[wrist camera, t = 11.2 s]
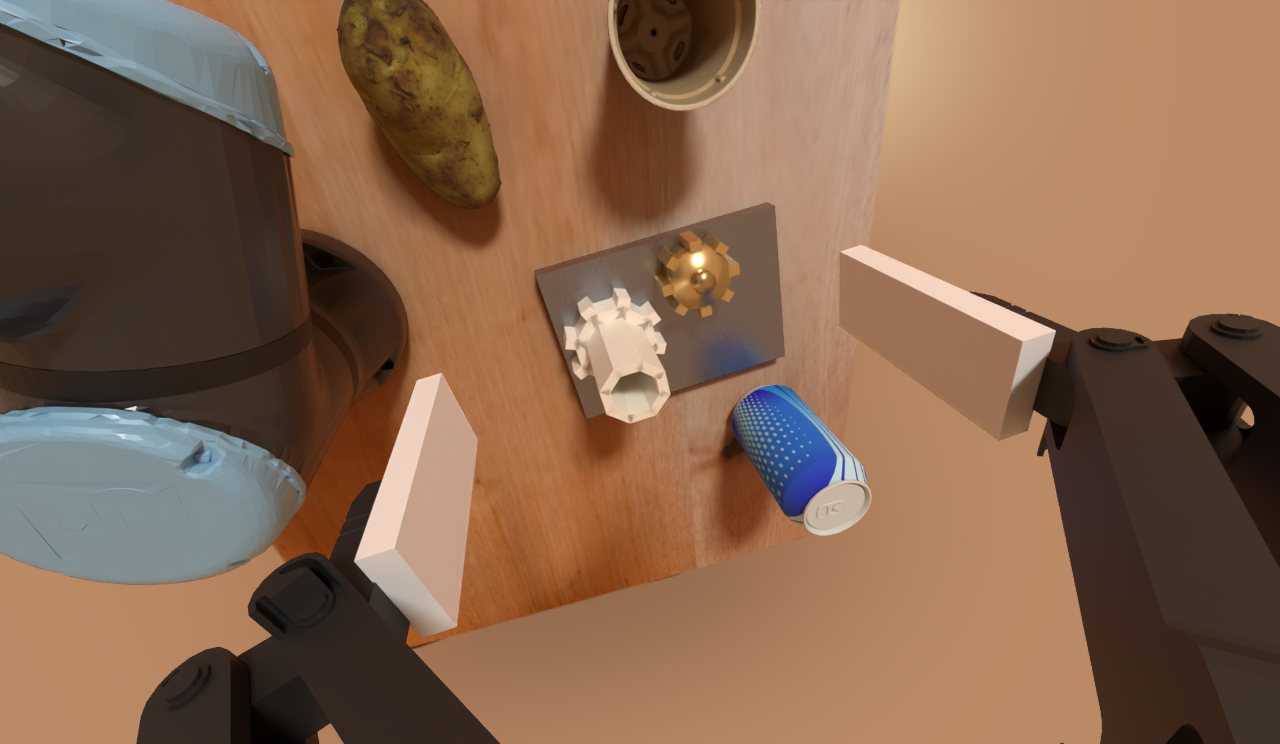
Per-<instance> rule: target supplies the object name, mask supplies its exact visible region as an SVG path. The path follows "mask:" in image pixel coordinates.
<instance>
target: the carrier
mask: <svg viewBox="0 0 1280 744" xmlns="http://www.w3.org/2000/svg"><path fill="white" fill-rule="evenodd" d="M535 276H536V279H537V282H538V285H539V287H540V290H541V293H542V296H543V298H544V301H545V304H546V307H547V309H548V312H549V315H550V318H551V321H552V323H553V326H554V329H555V332H556V334H557V337H558V340H559V343H560V345H561V348H562V351H563V354H564V357H565V359H566V362H567V365H568V368H569V370H570V373H571V376H572V379H573V381H574V384H575V387H576V390H577V393H578V395H579V398H580V401H581V404H582V406H583V409H584V412H585V415H586V417H587V419H589V418H592V417H595V416H598V415H601V414H605V413H606V411H605V408H604V405H603V402H602V399H601V396H600V393H599V390H598V386H597V383H596V379H595V376H592V375H590V374H589V375H587V376H586V377H585V378H583V379H582V380H581V379H580V378H579V377H578V376H577V375H576V374H575V373H574V372H573V367H572V362H571V359H572V358H574V357H575V356H576V355H578V354H577V351H576V350H569V349H565V344H564V339H563V333H564V326H568V327H575V325H576V323H577V321H578V320H579V318H580V316H581V314H580V311H579V308H578V304H577V303H578V302H580V301H581V300H582V299H583V298H585V297H586V296H587V297H588V298H589V299H590V300H591V301H592V303H596V302H599V301H603V300H606V299H609V298H612V295H613V288H621V289H626V291H627V293H628V295H629V296H630V298H631V301H630V302H631V303H633V304H635V305H637V306H639V307H641V306H642V305H643V304H645V303H646V302H647V301H649V303H650V304H651V305H652V307H653V308H654V309H655V311H656V312H657V314H658V315H659V317H660V319H661V321H659V322H658V323H657V324H655V325H654V326H653V328H654V332H660V333H661V335H662V337H663V338H664V340H665V342H666V349H665V353H664V354H656V355H657V357H658V359H659V361H660V362H661V364H662V366H663V368H664V370H665V373H666V377H667V381H668V386H669V390H670V392H674V391H677V390H680V389H683V388H686V387H689V386H692V385H696V384H699V383H702V382H705V381H708V380H711V379H714V378H718V377H721V376H724V375H727V374H730V373H733V372H736V371H740V370H743V369H746V368H749V367H752V366H755V365H758V364H762V363H765V362H768V361H771V360H774V359H777V358H780V357H784V356H785V351H784V336H783V321H782V306H781V291H780V276H779V261H778V246H777V231H776V216H775V206H774V205H772V204H770V203H764V204H760V205H757V206H754V207H750V208H747V209H743V210H740V211H737V212H733V213H730V214H726V215H723V216H719V217H716V218H713V219H709V220H706V221H702V222H699V223H696V224H692V225H689V226H685V227H682V228H679V229H675V230H672V231H668V232H665V233H662V234H658V235H655V236H651V237H648V238H644V239H641V240H638V241H634V242H631V243H627V244H624V245H621V246H617V247H614V248H610V249H607V250H604V251H600V252H597V253H593V254H590V255H587V256H583V257H580V258H576V259H573V260H569V261H566V262H563V263H559V264H556V265H552V266H549V267H546V268H542V269H539V270H535Z"/></svg>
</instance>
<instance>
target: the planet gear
mask: <svg viewBox="0 0 1280 744" xmlns="http://www.w3.org/2000/svg"><path fill="white" fill-rule="evenodd" d="M630 301H631V298H630V296H629V295H628V293H627V291H626V289H621V288H613V295H612V298H609V299H606V300H603V301H599V302H596V303H592V301H591V300H590V299H589V298H588V297H587V296H586V297H585V298H583V299H582V300H581V301H580V302H578V303H577V304H578V308H579V311H580V314H581V316H580V318H579V320H578V321H577V323H576V325H575V327H568V326H564V333H563V339H564V344H565V349H569V350H576V351H577V354H578V355H576V356H575V357H574V358H572V359H571V362H572V367H573V372H574V373H575V374H576V375H577V376H578V377H579V378H580V379H581V380H582V379H583V378H585V377H586V376H587V375H589V374H590V375H592V376H595V379H596V383H597V386H598V390H599V393H600V396H601V399H602V402H603V405H604V408H605V411H606V415H609V416H611V417H614V418H617V419H619V420H622V421H624V422H627V423H633V422H636V421H639V420H642V419H646V418H649V417H652V416H655V415H656V414H657V413H658V411H659V410H660V409H661V407H662V406H663V404H664V403H665V401H666V400H667V399H668V397H669V396H670V390H669V386H668V381H667V377H666V373H665V370H664V368H663V366H662V364H661V362H660V361H659V359H658V357H657V355H656V354H664V353H665V349H666V342H665V340H664V338H663V337H662V335H661V333H660V332H654V328H653V326H654V325H655V324H657V323H658V322H659V321H661V319H660V317H659V315H658V314H657V312H656V311H655V309H654V308H653V307H652V305H651V304H650V303H649V301H647V302H646V303H645V304H643V305H642V306H641V307H639V306H637V305H635V304H633V303H631V302H630Z"/></svg>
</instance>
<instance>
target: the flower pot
mask: <svg viewBox="0 0 1280 744" xmlns="http://www.w3.org/2000/svg"><path fill="white" fill-rule="evenodd" d="M624 5H627V6H628V9H627V12H626V14H625V17H624V20H623V23H622V25H619V24H618V15H619V13H620V10H621V8H622V7H623V6H624ZM760 13H761V0H675V4H672V5H671V4H670V3H669V2H668V1H667V0H608V11H607V23H608V35H609V40H610V45H611V49H612V52H613V55H614V58H615V60H616V63H617V65H618V67H619V69H620V71H621V73H622V74H623V76H624V77H625V79H626V80H627V82H628V83H629V84H630V85H631V87H632V88H633V89H634V90H635V91H636V92H637V93H638V94H639V95H641V96H642V97H643V98H644V99H646V100H647V101H649V102H650V103H652V104H654V105H656V106H659V107H662V108H664V109H668V110H673V111H689V110H695V109H698V108H702V107H705V106H707V105H709V104H711V103H713V102H714V101H716V100H718V99H719V98H721V97H722V96H723V95H724V94H726V93H727V92H728V91H729V90H730V89H731V88H732V87H733V86H734V85H735V83H736V82H737V81H738V80H739V78H740V77H741V76H742V74H743V72H744V71H745V69H746V67H747V65H748V63H749V61H750V59H751V56H752V54H753V51H754V48H755V45H756V41H757V37H758V33H759V24H760V16H761V15H760ZM651 30H656V33H657V34H656V36H652V35H651ZM679 42H683V43H684V50H683V52H682V53H681V55H680V57H679V58H678V59H677V60H676V59H675V58H674V54H675V52H676V50H677V48H678V45H679ZM632 62H635V63H637V64H639V63H640V65H641V67H643V68H645V71H644V72H642V71H640V70H638V69H637V68H635V67H634V66H633V64H632Z"/></svg>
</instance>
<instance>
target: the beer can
mask: <svg viewBox="0 0 1280 744" xmlns="http://www.w3.org/2000/svg"><path fill="white" fill-rule="evenodd" d="M731 425H732V430H733V433H734V435H735V437H736V438H737V440H738V441H739V443H740V444H741V446H742V448H743V449H744V451H745V452H746V454H747V455H748V457H749V459H750V460H751V462H752V463H753V465H754V466H755V468H756V470H757V471H758V473H759V474H760V476H761V478H762V479H763V481H764V482H765V484H766V485H767V487H768V489H769V490H770V492H771V493H772V495H773V496H774V498H775V500H776V501H777V503H778V504H779V506H780V507H781V509H782V511H783V512H784V514H785V515H786V516H787V517H788V518H789V519H790V520H792V521H793V522H795V523H797V524H800V525H802V526H804V527H805V528H806V529H807V530H808V531H809V532H810V533H812V534H815V535H820V536H825V535H833V534H836V533H839V532H842V531H844V530H846V529H848V528H849V527H851V526H852V525H853V524H855V523H856V522H858V521H859V520H860V519H861V518H862V517H863V515H864V514H865V513H866V511H867V510H868V508H869V506H870V503H871V497H872V496H871V491H870V489H869V488H868V486H867V482H866V474H865V471H864V468H863V466H862V465H861V464H860V462H859V461H858V460H857V459H856V458H855V457H854V456H853V454H852V453H851V452H850V451H849V450H848V449H847V448H846V447H845V446H844V445H843V444H842V443H841V442H840V440H839V439H838V438H837V437H836V436H835V435H834V434H833V433H832V432H831V431H830V430H829V429H828V427H827V426H826V425H825V424H824V423H823V422H822V421H821V420H820V419H819V418H818V417H817V416H816V415H815V413H814V412H813V411H812V410H811V409H810V408H809V407H808V406H807V405H806V404H805V403H804V402H803V400H802V399H801V398H800V397H799V396H798V395H797V394H796V393H795V392H794V391H793V390H792V389H790V388H788V387H786V386H783V385H762V386H758V387H755V388H753V389H751V390H750V391H748V392H747V393H746V394H744V395H743V396H742V397H741V399H740V400H739V401H738V403H737V405H736V407H735V409H734V413H733V416H732V422H731Z"/></svg>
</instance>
